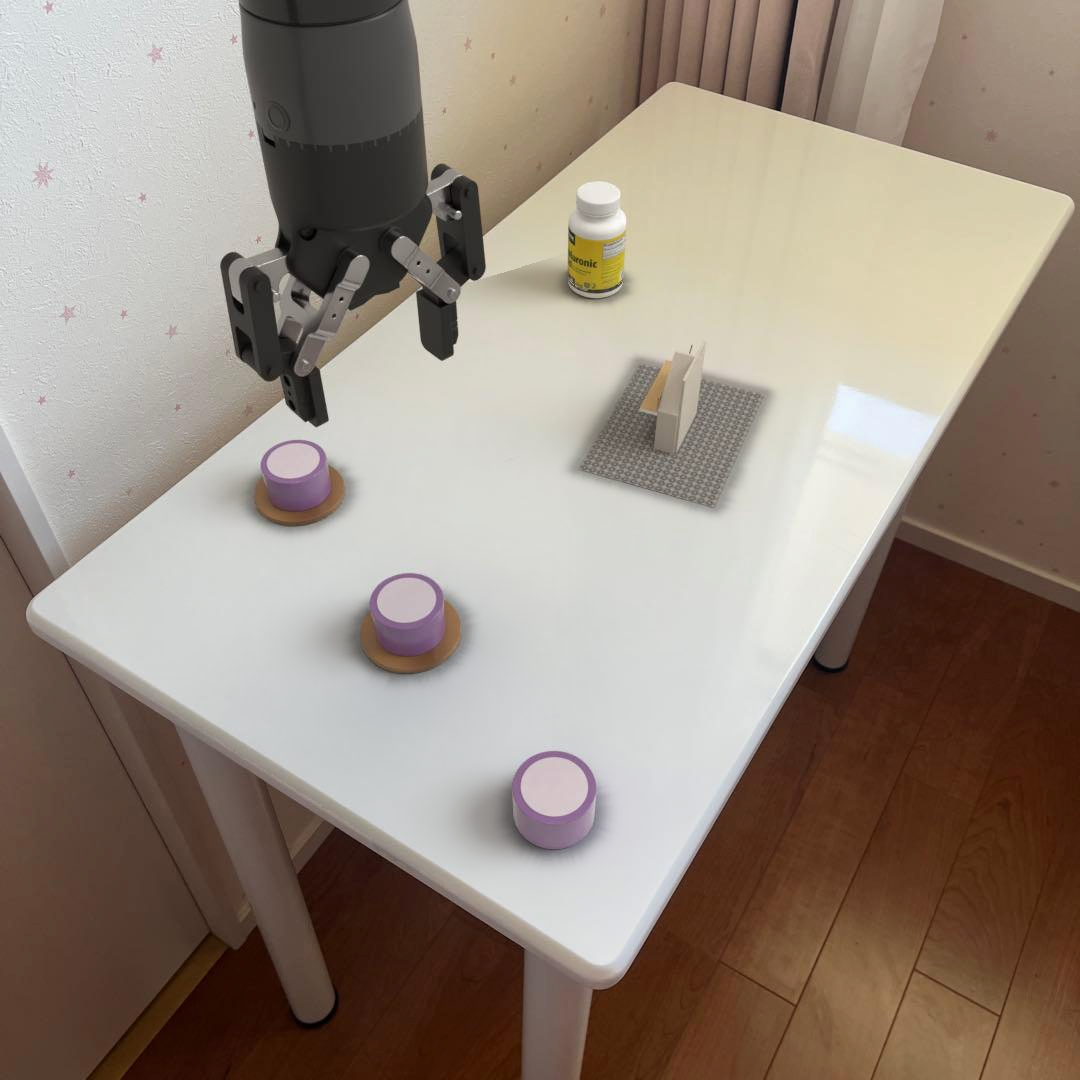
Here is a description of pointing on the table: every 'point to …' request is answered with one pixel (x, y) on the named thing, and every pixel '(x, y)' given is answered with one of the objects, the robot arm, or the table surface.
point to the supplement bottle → (596, 241)
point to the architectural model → (675, 431)
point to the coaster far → (307, 515)
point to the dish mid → (408, 614)
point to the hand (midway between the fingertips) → (376, 384)
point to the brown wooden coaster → (419, 661)
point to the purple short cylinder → (296, 475)
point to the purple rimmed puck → (554, 799)
